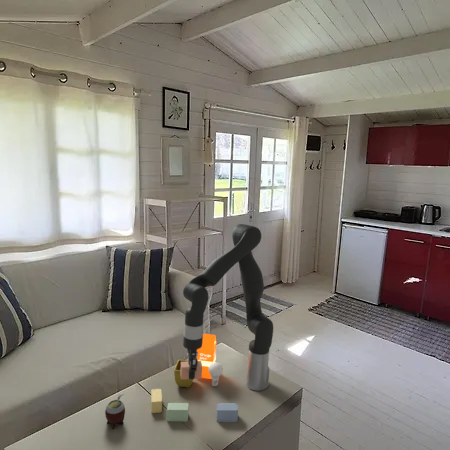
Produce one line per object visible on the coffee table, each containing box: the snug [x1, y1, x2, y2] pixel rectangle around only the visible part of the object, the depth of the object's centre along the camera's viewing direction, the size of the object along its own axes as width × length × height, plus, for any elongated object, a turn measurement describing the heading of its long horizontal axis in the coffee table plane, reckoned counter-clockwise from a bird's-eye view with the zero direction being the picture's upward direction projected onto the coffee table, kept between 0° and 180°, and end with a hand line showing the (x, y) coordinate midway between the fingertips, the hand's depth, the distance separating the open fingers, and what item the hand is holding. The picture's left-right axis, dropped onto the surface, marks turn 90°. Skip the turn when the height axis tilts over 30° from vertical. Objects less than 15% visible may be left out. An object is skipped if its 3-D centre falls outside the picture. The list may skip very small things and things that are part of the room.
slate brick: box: [216, 402, 239, 423], centre depth 138 cm, size 8×4×5 cm, turn 94°
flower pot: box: [173, 359, 194, 388], centre depth 158 cm, size 9×9×9 cm
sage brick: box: [166, 402, 190, 422], centre depth 137 cm, size 8×4×5 cm, turn 93°
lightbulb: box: [208, 361, 224, 387], centre depth 158 cm, size 6×6×11 cm
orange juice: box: [197, 333, 217, 380], centre depth 166 cm, size 8×9×20 cm
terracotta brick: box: [180, 361, 203, 380], centre depth 138 cm, size 8×4×5 cm, turn 102°
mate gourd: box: [104, 393, 126, 430], centre depth 131 cm, size 8×8×15 cm
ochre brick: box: [150, 388, 163, 414], centre depth 143 cm, size 8×4×5 cm, turn 12°
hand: (190, 374), depth 139 cm, fingers closed on terracotta brick, 4 cm apart
